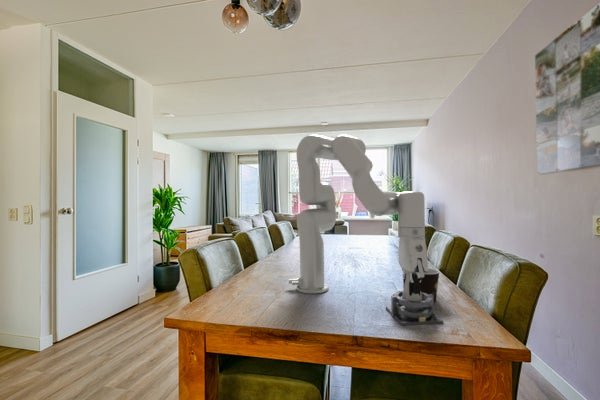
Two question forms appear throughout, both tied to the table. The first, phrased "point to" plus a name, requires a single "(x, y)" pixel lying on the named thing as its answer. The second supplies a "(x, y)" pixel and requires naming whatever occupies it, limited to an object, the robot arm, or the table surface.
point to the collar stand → (413, 317)
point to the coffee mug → (430, 283)
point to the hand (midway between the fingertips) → (411, 292)
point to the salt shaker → (406, 292)
